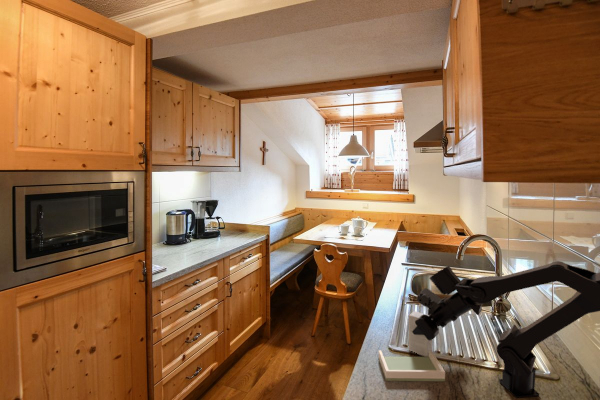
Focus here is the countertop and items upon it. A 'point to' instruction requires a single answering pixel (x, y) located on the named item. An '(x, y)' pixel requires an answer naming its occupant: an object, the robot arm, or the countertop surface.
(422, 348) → the skincare box
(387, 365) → the pad
